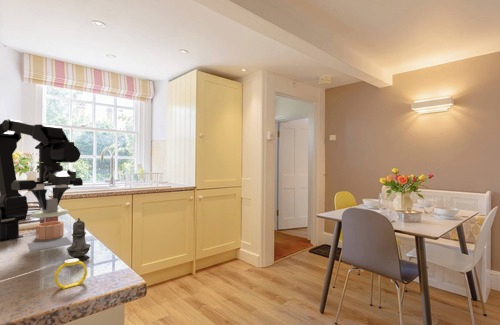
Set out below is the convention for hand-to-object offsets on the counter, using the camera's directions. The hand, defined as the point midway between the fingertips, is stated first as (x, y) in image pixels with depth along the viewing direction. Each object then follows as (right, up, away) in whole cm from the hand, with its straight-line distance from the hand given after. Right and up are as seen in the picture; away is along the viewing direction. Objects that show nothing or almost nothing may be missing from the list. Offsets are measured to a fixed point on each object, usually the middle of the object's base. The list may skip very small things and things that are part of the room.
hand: (50, 208), depth 88 cm
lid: (0, -2, 0) cm, 2 cm away
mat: (0, -12, 0) cm, 12 cm away
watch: (+27, -13, -29) cm, 41 cm away
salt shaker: (+18, -13, -13) cm, 25 cm away
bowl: (-7, -12, +9) cm, 17 cm away
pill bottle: (-17, -12, +22) cm, 30 cm away
